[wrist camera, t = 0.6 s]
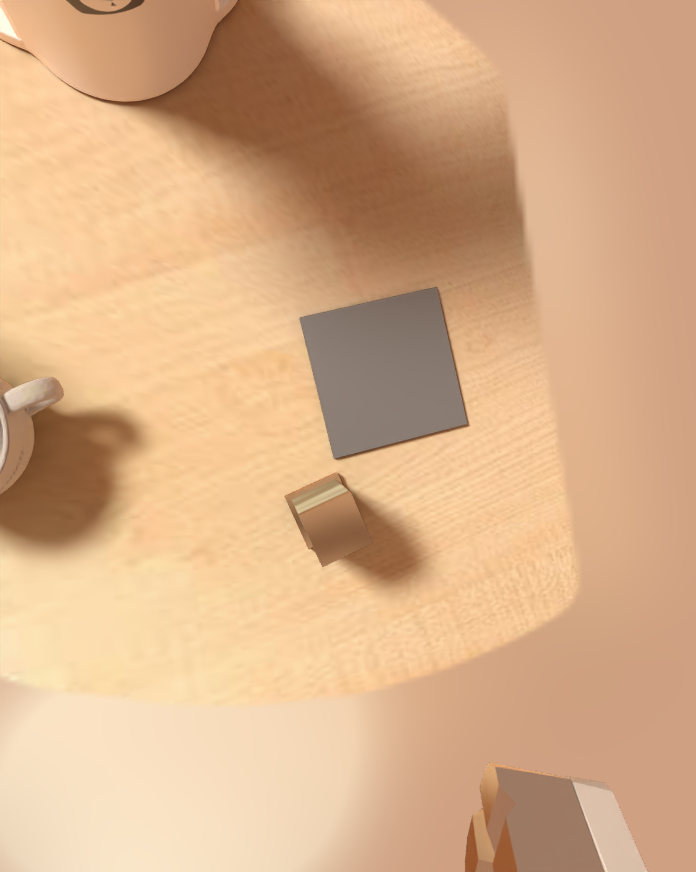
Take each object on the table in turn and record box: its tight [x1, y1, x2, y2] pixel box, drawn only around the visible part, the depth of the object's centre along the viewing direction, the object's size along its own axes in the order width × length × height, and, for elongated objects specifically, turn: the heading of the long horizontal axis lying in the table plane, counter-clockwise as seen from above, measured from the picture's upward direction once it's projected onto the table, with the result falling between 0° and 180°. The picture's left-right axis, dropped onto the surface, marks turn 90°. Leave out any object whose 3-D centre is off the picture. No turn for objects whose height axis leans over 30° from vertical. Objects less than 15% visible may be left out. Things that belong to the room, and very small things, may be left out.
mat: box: [300, 287, 467, 459], centre depth 52 cm, size 12×12×1 cm
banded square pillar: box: [285, 472, 373, 567], centre depth 47 cm, size 5×5×8 cm
